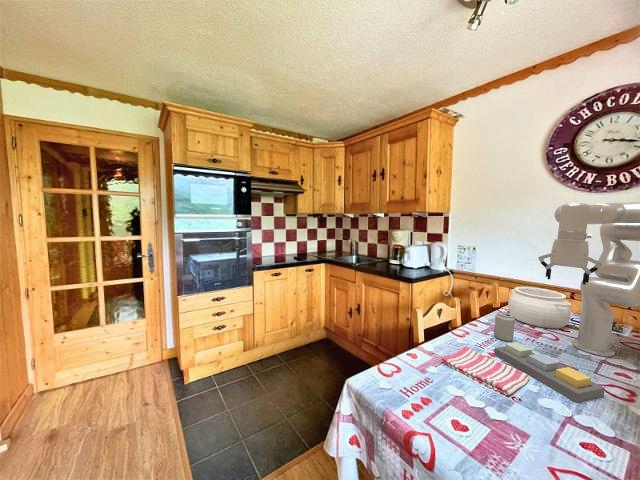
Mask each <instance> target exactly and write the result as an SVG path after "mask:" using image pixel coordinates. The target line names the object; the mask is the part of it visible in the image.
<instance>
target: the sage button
mask: <svg viewBox="0 0 640 480" xmlns="http://www.w3.org/2000/svg"><path fill="white" fill-rule="evenodd" d="M504 344H505V346H504V347H505V350H506V351H507V352H509V353H511V354H513V355H515V356H517V357H519V358H524V357H528V355H532V352H533V349H532V348H530V347H528V346H526V345H523V344H521V343H520V342H516V341H515V342H509V343H504Z"/></svg>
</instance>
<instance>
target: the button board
mask: <svg viewBox="0 0 640 480" xmlns="http://www.w3.org/2000/svg"><path fill="white" fill-rule="evenodd" d="M534 354H536V353H535V352H533V351H532V355H534ZM493 355H494V356H495V357H497V358H498V359H500V360H502V361H504V362H506V363H507V364H509V365H510V366H511V367H513V368H515V369H517V370H519V371H521V372H523V373H525V374H527V375H528V376H529V377H530V378H533V379H535V380H536V381H538V382H540V383H542V384H543V385H545V386H547V387H549V388H550V389H552V390H554V391H555V392H558V393H559V394H560V395H562V396H565V397H566V398H567V399H569V400H571V401H573V402H574V403H582V402H586V401H592V400H595V399H599V398H604V397H605V390H606V387H604V386H602V385H600V384H598V383H596V382H594V381H592V380H591V383H590V386H589V387H584V388H580V389H577V388H575V387H573V386H571V385H569V384H567V383H565V382H564V381H562V380H560V379H558V378H556V377H555V375H556V370H555V371H549V372H545V371H543V370H541V369H539V368H537V367H536V366H534V365H532V364H530V363H528V357H524V358H519V357H517V356H515V355H513V354H511V353H509V352H507V351H506V350H505V346H500V347H499V346H498V347H494V351H493ZM561 368H565V367H563V366H562V365H560V364H559V365H558V369H561Z"/></svg>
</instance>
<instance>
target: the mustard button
mask: <svg viewBox="0 0 640 480" xmlns="http://www.w3.org/2000/svg"><path fill="white" fill-rule="evenodd" d="M555 377H556V378H558V379H560V380H562V381H564V382H565V383H567V384H569V385H571V386H573V387H575V388H577V389H580V388H584V387H589V386H590V383H591V381H592V377H591V376H588V375H586V374H584V373H582V372H581V371H578V370H576V369H573V368H572V367H570V366H567V367H564V368H561V369H556V375H555Z"/></svg>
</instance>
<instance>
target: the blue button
mask: <svg viewBox="0 0 640 480" xmlns="http://www.w3.org/2000/svg"><path fill="white" fill-rule="evenodd" d="M528 363H530V364H532V365H534V366H536V367H537V368H539V369H541V370H543V371H545V372H549V371H555V370H556V369H558V365H559V366H560V362H559V361H557V360H555V359H553V358H551V357H548V356H547V355H544V354H542V353H535V354H534V355H528Z"/></svg>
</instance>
